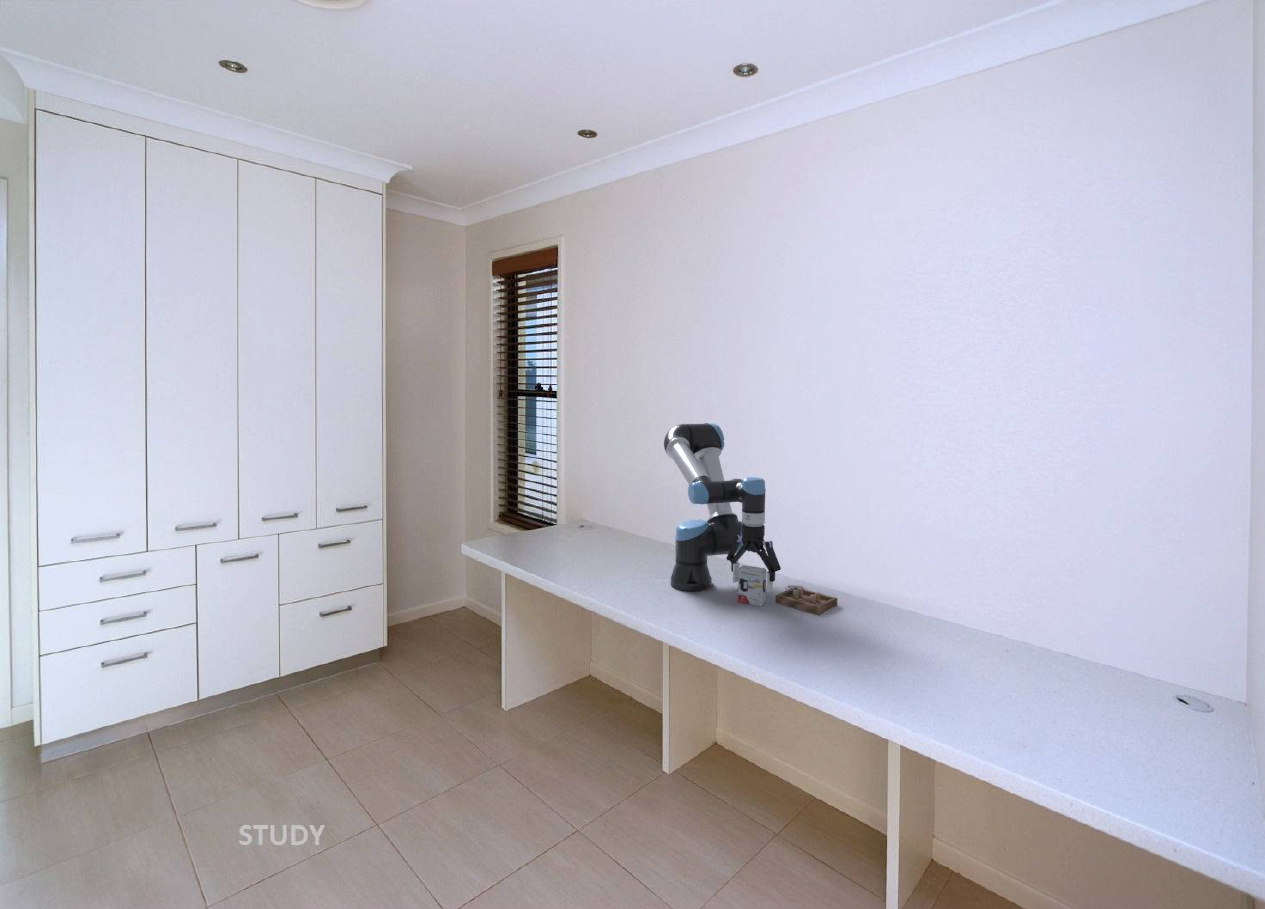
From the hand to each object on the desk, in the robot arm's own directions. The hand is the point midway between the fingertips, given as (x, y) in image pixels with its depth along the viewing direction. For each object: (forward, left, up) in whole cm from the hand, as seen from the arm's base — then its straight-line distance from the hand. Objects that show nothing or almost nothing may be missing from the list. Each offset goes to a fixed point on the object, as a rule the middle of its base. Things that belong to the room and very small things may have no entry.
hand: (752, 586), depth 209 cm
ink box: (0, 0, -6) cm, 6 cm away
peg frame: (+14, +12, -6) cm, 19 cm away
